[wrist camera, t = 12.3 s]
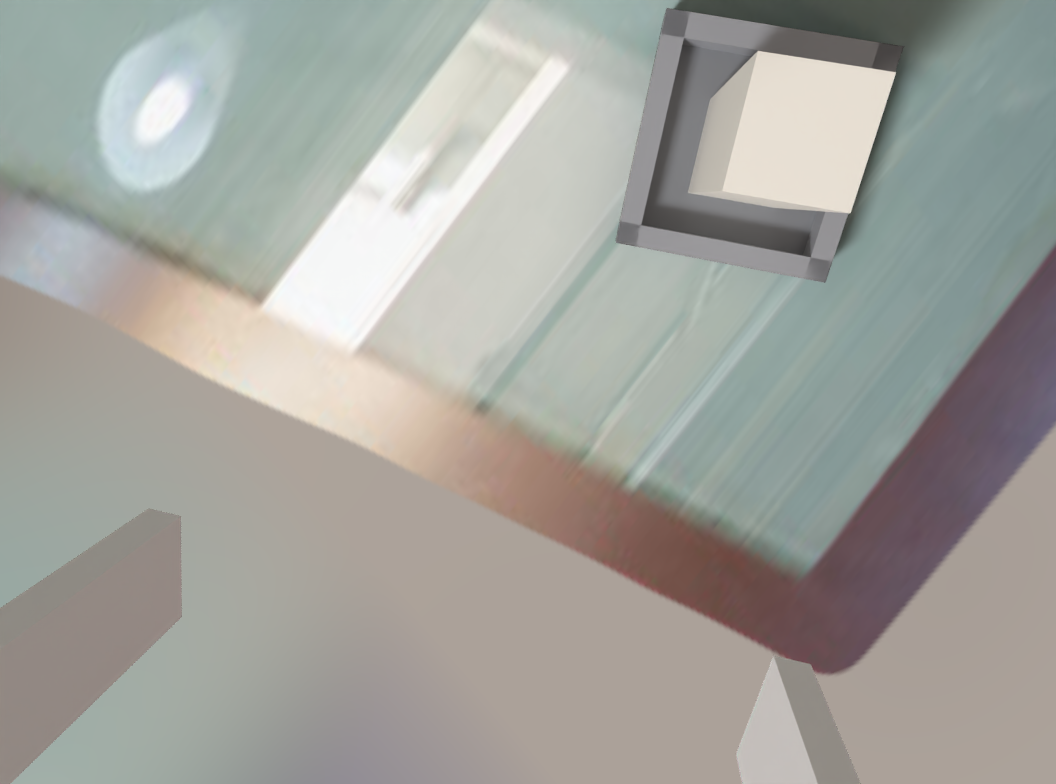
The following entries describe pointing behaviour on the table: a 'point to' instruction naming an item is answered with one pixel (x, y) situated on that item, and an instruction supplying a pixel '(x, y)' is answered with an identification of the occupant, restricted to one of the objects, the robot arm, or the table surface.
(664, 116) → the mounting cradle
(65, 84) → the table surface
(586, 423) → the table surface
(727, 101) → the tall cream pillar block
